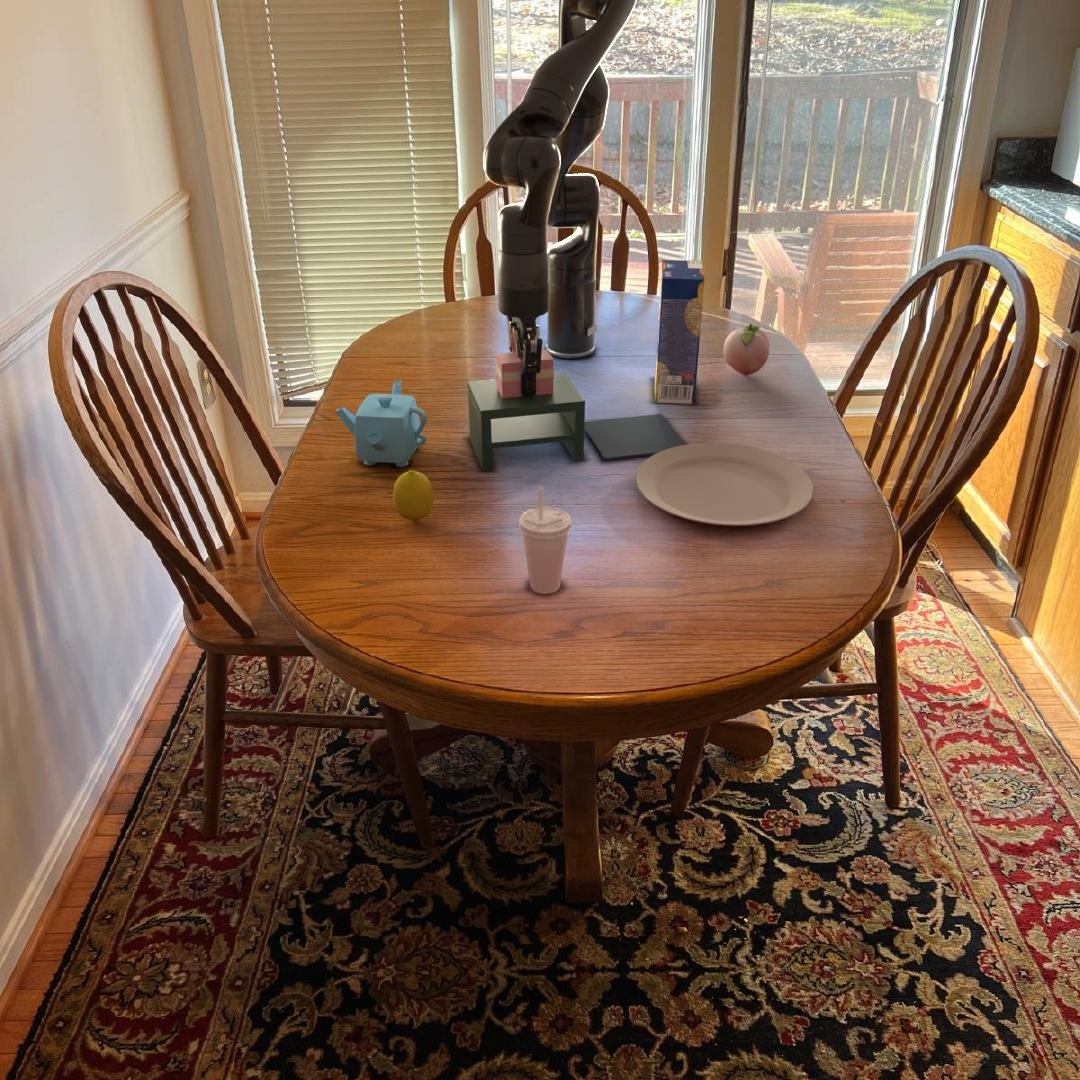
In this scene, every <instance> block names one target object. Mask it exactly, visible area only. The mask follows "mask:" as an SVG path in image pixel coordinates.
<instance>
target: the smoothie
mask: <svg viewBox="0 0 1080 1080" xmlns="http://www.w3.org/2000/svg"><path fill="white" fill-rule="evenodd" d="M537 502H538V503H537V506H538V507H535V508H531V509H528V510H526V511H525V512H523V513H522V514H521V515H520V516H519V519H518V520H519V521H518V522H519V523H518V524H519V525H518V529H519V531H520V532H521V533H522V541H523V546H524V551H525V553H524V554H525V559H526V560H525V561H526V566H527V571H528V578H529V584H530V585H529V586H530V589H531V590H532V591H533V592H535V593H537V594H541V595H549V594H553V593H555V592H557V591H558V590H559V589H560V587H561V581H562V575H563V573H562V572H563V567H564V561H565V555H566V548H567V547H566V546H567V542H568V536H569V532H570V531H571V530H572V518H571V516H570V515H569V514H568V513H567V512H566V511H564V510H562V509H559V508H555V507H550V506H544V488H543V487H542V486H538V488H537Z"/></svg>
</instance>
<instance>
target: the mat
mask: <svg viewBox="0 0 1080 1080" xmlns="http://www.w3.org/2000/svg"><path fill="white" fill-rule="evenodd" d="M584 433H585V434H586V435H587V436H588V438H589V440H590V441H591V443H592V444H593V446H594V447H595V449H596V451H597V452H598V454H599V455H600V457H601V458H602V460H603V461H604V462H607V461H616V460H626V459H636V458H644V457H651V456H652V455H654V454H656V453H658V452H661V451H663V450H666V449H669V448H673V447H677V446H682V445H686V443H685V442H684V441H683V440H682V439H681V437H680V436H679V434H677V432H676V431H675V430H674V428H673V427H672V426H671V425H670V424H669V422H668V421H667V420H666V418H665V417H663V415H662V414H661V413H658V414H649V415H637V416H627V417H618V418H608V419H599V420H589V421H587V420H586V421H585V428H584Z"/></svg>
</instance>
